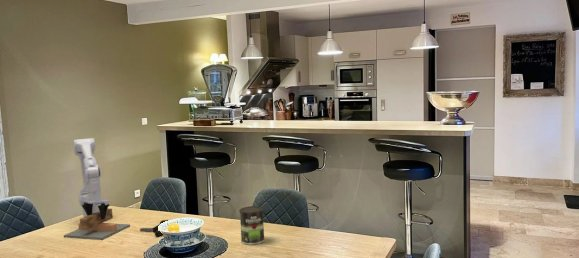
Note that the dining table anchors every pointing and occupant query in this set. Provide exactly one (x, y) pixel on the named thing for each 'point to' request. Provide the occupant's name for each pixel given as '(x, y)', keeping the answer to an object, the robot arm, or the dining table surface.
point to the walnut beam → (94, 219)
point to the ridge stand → (97, 231)
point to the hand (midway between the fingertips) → (96, 218)
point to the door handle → (153, 229)
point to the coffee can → (252, 225)
